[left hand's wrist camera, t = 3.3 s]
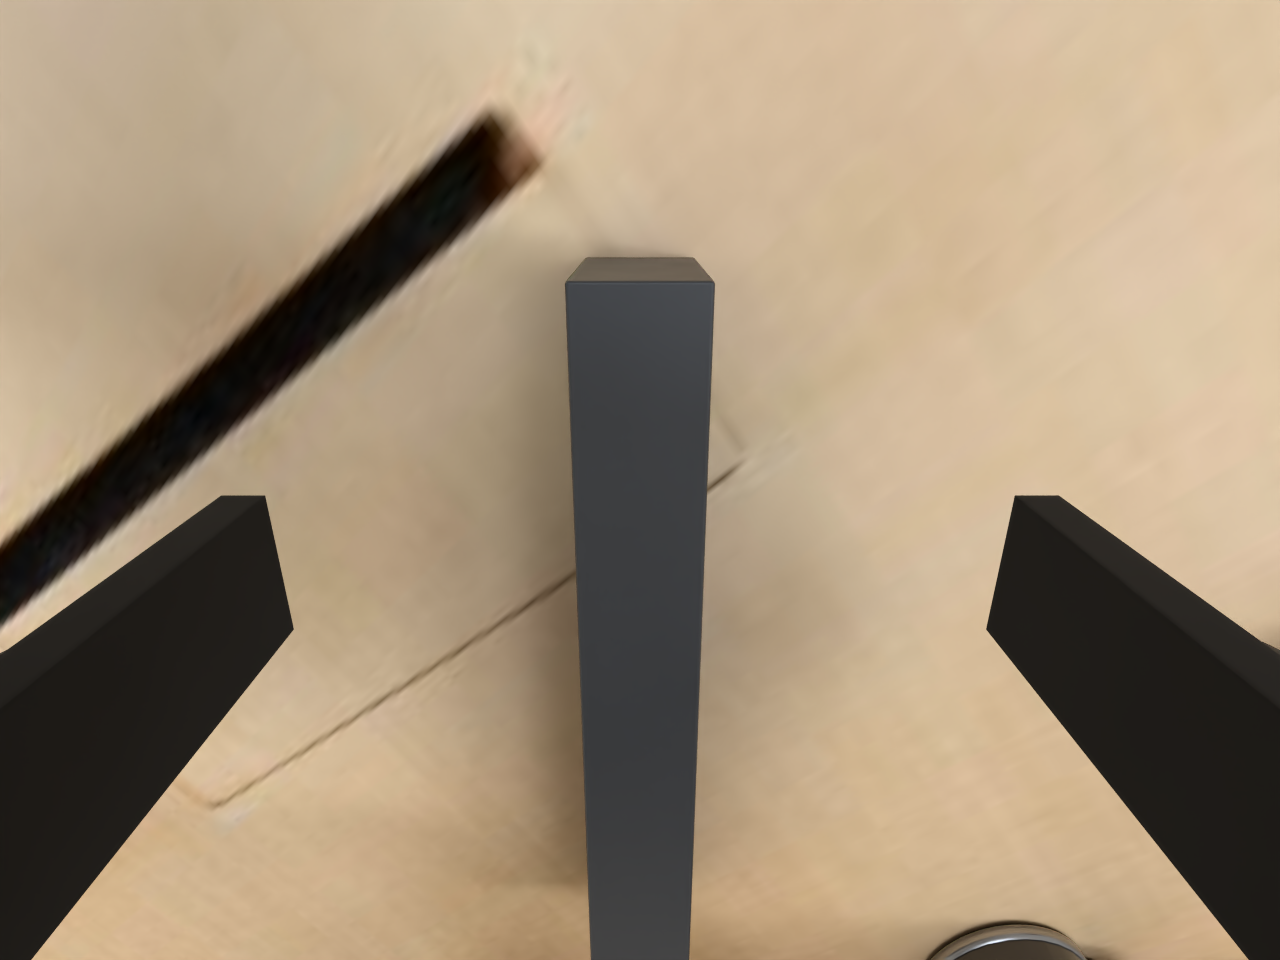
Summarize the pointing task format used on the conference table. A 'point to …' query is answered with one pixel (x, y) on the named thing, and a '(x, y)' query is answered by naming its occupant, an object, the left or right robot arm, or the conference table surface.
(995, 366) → the conference table surface
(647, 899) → the rail
